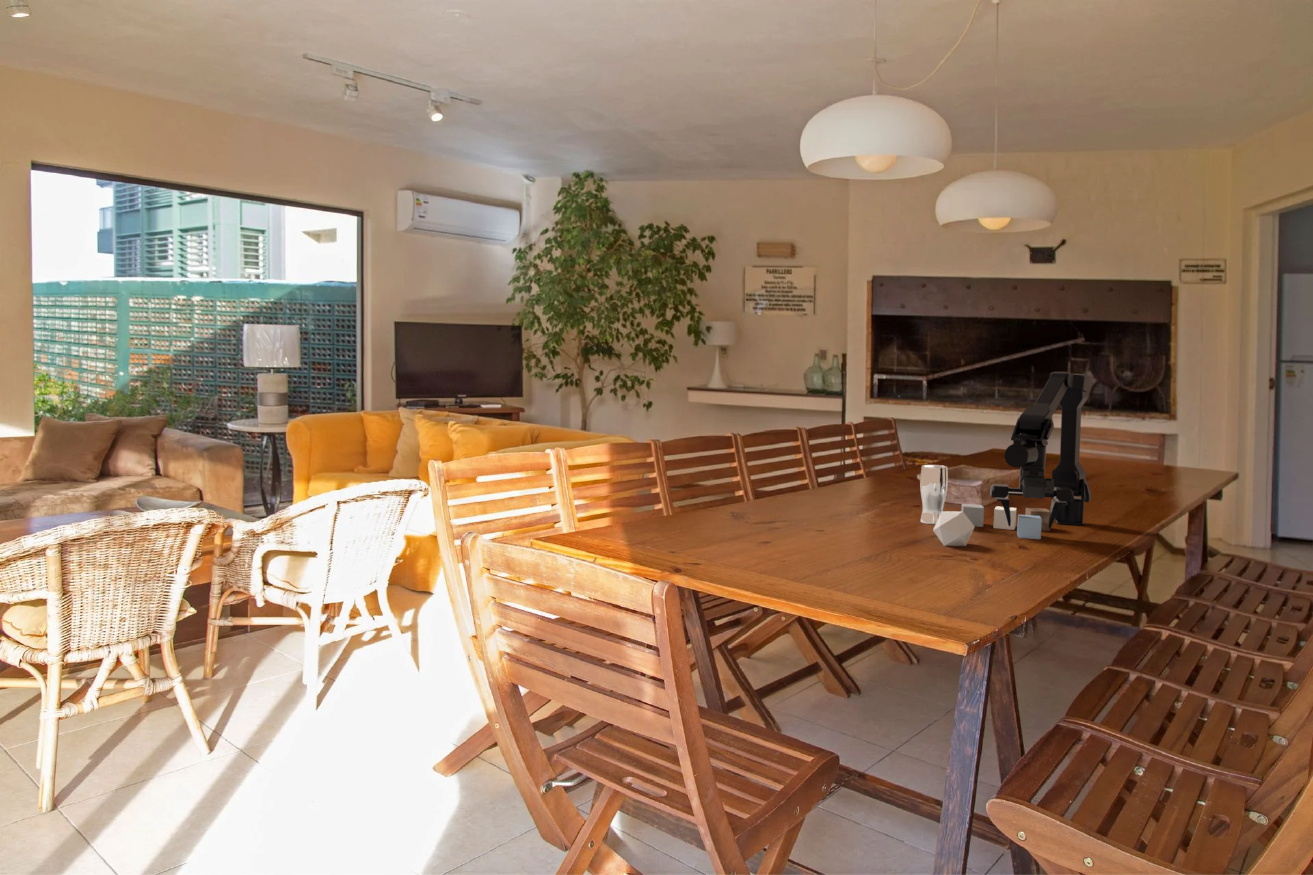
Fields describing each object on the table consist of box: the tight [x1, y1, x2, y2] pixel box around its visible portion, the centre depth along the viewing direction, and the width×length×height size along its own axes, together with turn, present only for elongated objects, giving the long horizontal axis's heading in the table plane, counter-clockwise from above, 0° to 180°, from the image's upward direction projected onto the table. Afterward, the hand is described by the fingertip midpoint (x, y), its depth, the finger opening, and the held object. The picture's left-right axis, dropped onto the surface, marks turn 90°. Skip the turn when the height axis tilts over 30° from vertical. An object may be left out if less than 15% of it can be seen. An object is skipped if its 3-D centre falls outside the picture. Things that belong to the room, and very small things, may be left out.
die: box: [932, 510, 975, 547], centre depth 222 cm, size 8×9×10 cm
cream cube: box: [993, 505, 1017, 531], centre depth 245 cm, size 5×5×5 cm
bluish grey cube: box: [1016, 514, 1042, 540], centre depth 233 cm, size 5×5×5 cm
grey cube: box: [961, 503, 985, 528], centre depth 248 cm, size 5×5×5 cm
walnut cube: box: [1024, 507, 1051, 532], centre depth 244 cm, size 5×5×5 cm
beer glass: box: [919, 464, 949, 526], centre depth 250 cm, size 7×7×15 cm
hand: (1029, 527), depth 233 cm, fingers open, 9 cm apart
